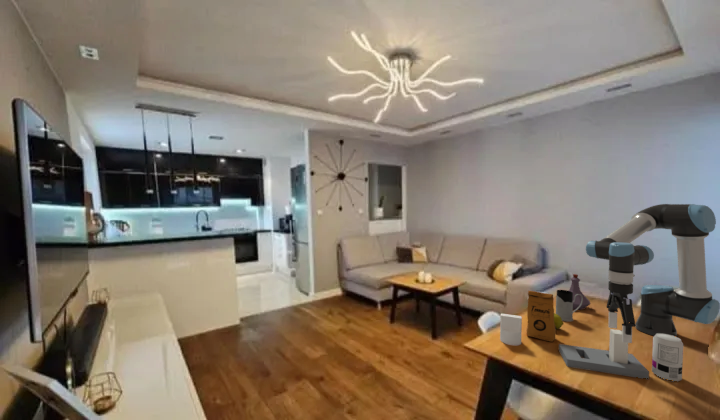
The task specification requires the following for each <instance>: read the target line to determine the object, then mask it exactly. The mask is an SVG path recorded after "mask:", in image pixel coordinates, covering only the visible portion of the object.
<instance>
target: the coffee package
mask: <svg viewBox="0 0 720 420" xmlns="http://www.w3.org/2000/svg"><path fill="white" fill-rule="evenodd" d="M527 296H528V297H527V308H526V309H527V310H526V311H527V313H526V314H527V324H526V325H527V327H526V331H525V332H526V336H527V337H531V338H535V339H538V340H542V341H545V342H546V341H547V342H551V343H554V340H556V335H557V334H556V332H557V329H556V326H555V323H554V313H555V308H554V295H553V293H546V292H539V291H533V290H528V291H527Z"/></svg>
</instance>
